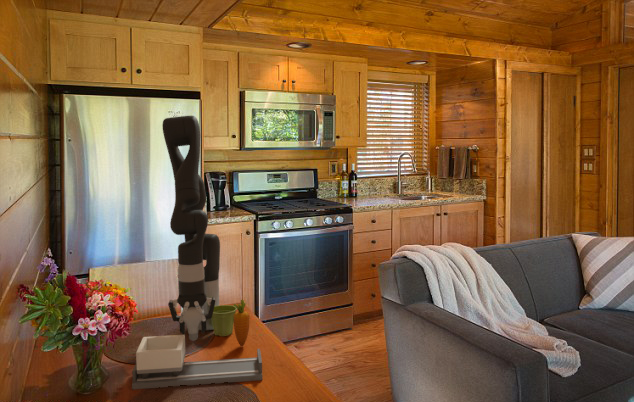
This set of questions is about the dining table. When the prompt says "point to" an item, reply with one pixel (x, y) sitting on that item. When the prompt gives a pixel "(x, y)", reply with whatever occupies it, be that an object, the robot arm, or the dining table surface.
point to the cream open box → (160, 355)
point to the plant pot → (223, 319)
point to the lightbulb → (192, 322)
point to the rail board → (204, 373)
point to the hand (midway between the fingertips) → (193, 332)
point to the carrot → (241, 323)
